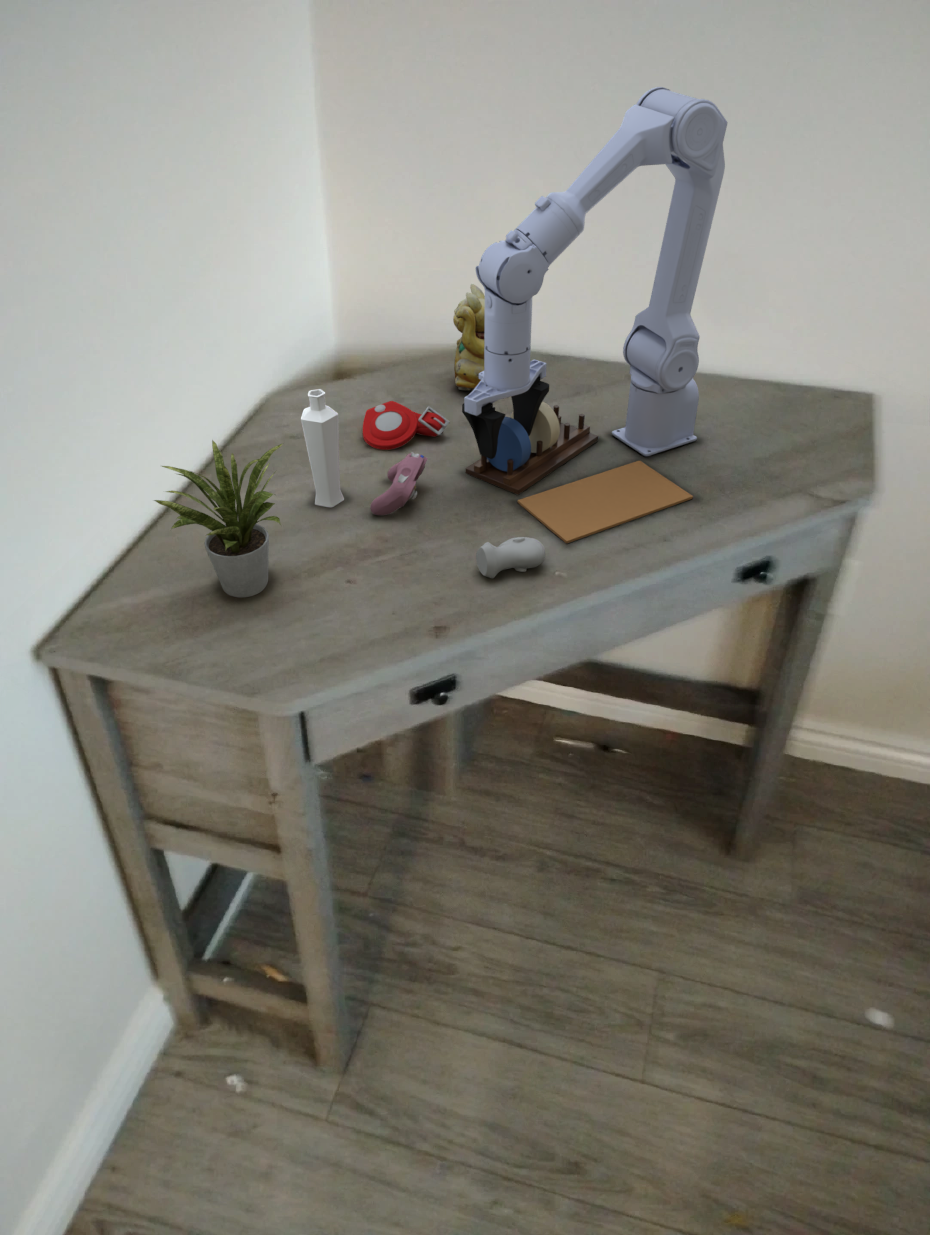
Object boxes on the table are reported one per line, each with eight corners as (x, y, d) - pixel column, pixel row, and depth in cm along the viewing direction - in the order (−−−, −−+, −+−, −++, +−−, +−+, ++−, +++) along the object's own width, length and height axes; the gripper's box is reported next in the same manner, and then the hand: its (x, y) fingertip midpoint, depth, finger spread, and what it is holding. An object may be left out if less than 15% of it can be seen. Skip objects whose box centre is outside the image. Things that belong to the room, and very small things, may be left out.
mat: (639, 462, 128) (639, 460, 128) (692, 498, 121) (693, 496, 121) (517, 502, 121) (517, 500, 120) (566, 543, 113) (566, 541, 113)
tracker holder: (371, 450, 129) (348, 405, 135) (378, 471, 133) (355, 427, 138) (451, 418, 131) (425, 375, 136) (455, 440, 134) (430, 397, 140)
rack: (546, 422, 138) (548, 398, 135) (598, 440, 133) (600, 416, 131) (465, 473, 127) (464, 448, 124) (518, 495, 122) (518, 469, 120)
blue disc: (489, 456, 128) (489, 409, 123) (530, 472, 124) (532, 425, 120) (480, 462, 126) (480, 415, 122) (521, 478, 123) (523, 430, 119)
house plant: (250, 530, 116) (228, 410, 106) (334, 566, 110) (320, 442, 100) (161, 587, 107) (128, 462, 97) (248, 630, 101) (222, 501, 91)
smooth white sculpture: (536, 561, 112) (550, 573, 108) (472, 570, 111) (484, 583, 106) (534, 526, 111) (549, 537, 106) (469, 535, 109) (481, 547, 104)
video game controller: (398, 530, 119) (420, 490, 114) (365, 513, 118) (386, 472, 113) (416, 490, 126) (437, 451, 122) (386, 474, 125) (406, 434, 121)
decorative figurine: (457, 370, 152) (456, 278, 142) (508, 372, 151) (509, 279, 142) (450, 396, 144) (448, 300, 135) (503, 398, 144) (505, 302, 134)
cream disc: (517, 438, 132) (519, 392, 127) (558, 454, 128) (561, 407, 124) (509, 444, 130) (510, 398, 126) (550, 459, 127) (552, 412, 122)
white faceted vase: (352, 493, 123) (341, 387, 113) (338, 510, 120) (326, 402, 110) (320, 487, 124) (307, 382, 114) (306, 504, 121) (291, 397, 111)
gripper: (517, 320, 121) (514, 416, 130) (444, 356, 112) (446, 456, 121) (561, 334, 117) (556, 431, 126) (490, 371, 109) (489, 473, 117)
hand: (505, 444), depth 123 cm, fingers open, 7 cm apart
